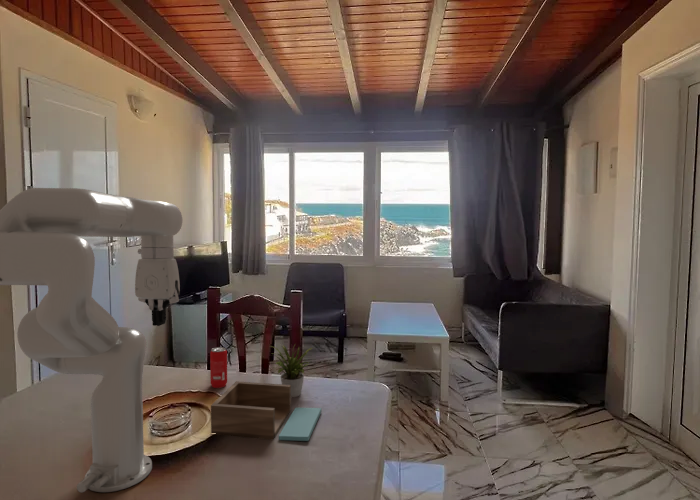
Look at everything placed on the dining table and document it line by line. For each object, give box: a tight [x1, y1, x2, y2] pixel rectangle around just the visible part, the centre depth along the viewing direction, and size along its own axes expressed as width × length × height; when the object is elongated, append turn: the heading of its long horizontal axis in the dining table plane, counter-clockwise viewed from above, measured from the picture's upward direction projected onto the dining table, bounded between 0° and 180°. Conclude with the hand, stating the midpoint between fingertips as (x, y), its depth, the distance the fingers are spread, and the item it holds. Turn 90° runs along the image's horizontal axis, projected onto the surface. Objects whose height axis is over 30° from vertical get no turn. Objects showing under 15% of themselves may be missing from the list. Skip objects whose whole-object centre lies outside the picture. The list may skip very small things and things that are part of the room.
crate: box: [210, 380, 292, 441], centre depth 115 cm, size 16×16×8 cm
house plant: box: [270, 344, 314, 398], centre depth 133 cm, size 14×14×16 cm
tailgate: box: [278, 407, 322, 442], centre depth 113 cm, size 16×1×7 cm
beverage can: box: [209, 346, 228, 389], centre depth 140 cm, size 5×5×12 cm
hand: (159, 324), depth 112 cm, fingers closed
